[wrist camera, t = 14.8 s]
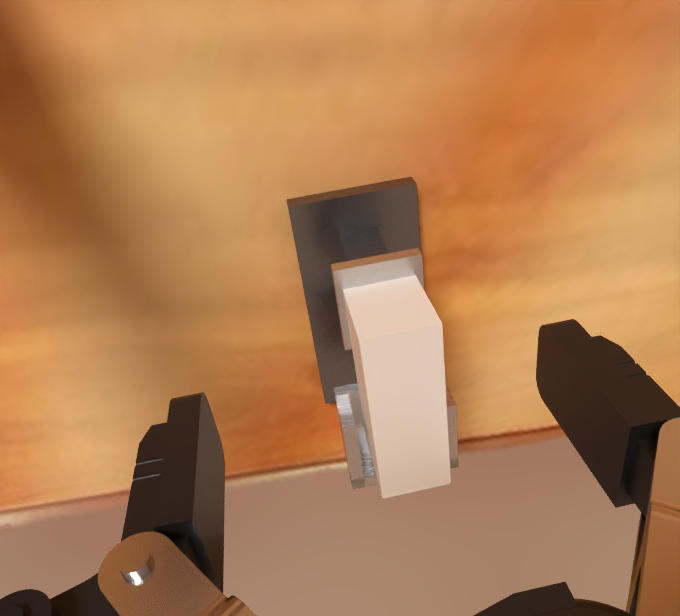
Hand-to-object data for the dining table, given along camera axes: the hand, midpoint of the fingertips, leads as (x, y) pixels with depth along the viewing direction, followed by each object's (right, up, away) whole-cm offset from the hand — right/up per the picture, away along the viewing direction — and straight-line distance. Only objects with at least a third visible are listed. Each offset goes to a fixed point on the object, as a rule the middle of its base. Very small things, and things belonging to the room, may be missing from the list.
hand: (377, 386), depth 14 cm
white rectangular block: (+3, -2, +29) cm, 30 cm away
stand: (+1, +3, +38) cm, 38 cm away
